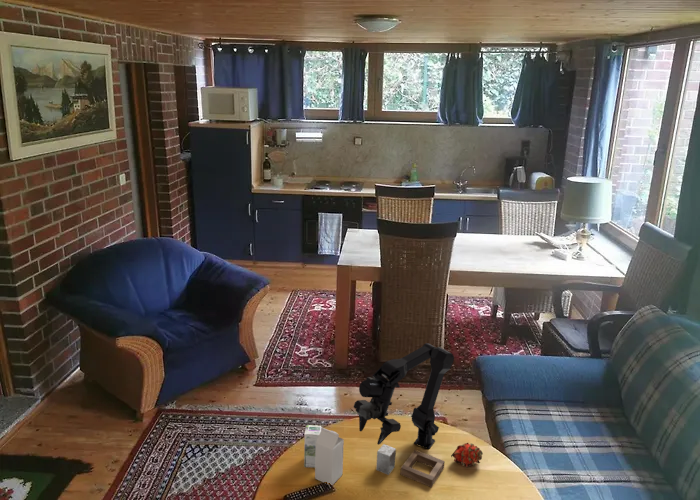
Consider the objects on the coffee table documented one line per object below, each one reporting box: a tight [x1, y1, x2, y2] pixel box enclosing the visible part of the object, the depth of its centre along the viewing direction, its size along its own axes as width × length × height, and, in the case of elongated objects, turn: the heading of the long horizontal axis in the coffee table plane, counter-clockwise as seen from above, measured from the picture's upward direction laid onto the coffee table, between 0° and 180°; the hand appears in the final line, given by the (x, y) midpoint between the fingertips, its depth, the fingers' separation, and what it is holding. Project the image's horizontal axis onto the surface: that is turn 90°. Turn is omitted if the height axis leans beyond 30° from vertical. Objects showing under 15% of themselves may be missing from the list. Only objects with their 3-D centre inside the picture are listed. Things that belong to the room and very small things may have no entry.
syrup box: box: [303, 424, 322, 469], centre depth 201 cm, size 6×6×14 cm
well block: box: [400, 449, 446, 488], centre depth 200 cm, size 12×12×3 cm
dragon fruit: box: [450, 442, 484, 468], centre depth 205 cm, size 8×8×12 cm
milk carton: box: [314, 427, 345, 486], centre depth 193 cm, size 7×7×19 cm
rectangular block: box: [375, 443, 397, 476], centre depth 200 cm, size 5×5×8 cm
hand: (369, 437), depth 197 cm, fingers open, 9 cm apart
